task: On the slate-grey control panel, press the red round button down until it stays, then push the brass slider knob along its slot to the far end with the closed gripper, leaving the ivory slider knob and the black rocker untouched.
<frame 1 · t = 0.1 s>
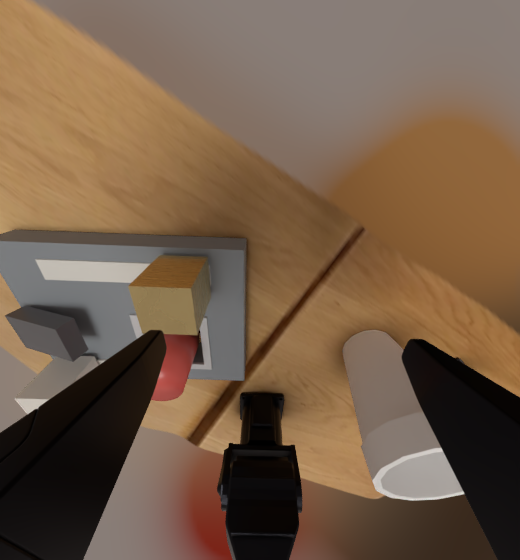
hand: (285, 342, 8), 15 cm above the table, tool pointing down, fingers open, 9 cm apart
black rocker: (48, 333, 21), point 5 cm above the table, hinge at -15.0°
brass slider: (177, 292, 17), point 6 cm above the table, slide at 0.0 cm
foam cup: (366, 347, 29), on the table
panel: (149, 306, 26), on the table
red button: (167, 358, 22), point 5 cm above the table, slide at 0.0 cm
ivory slider: (65, 387, 23), point 6 cm above the table, slide at 0.0 cm
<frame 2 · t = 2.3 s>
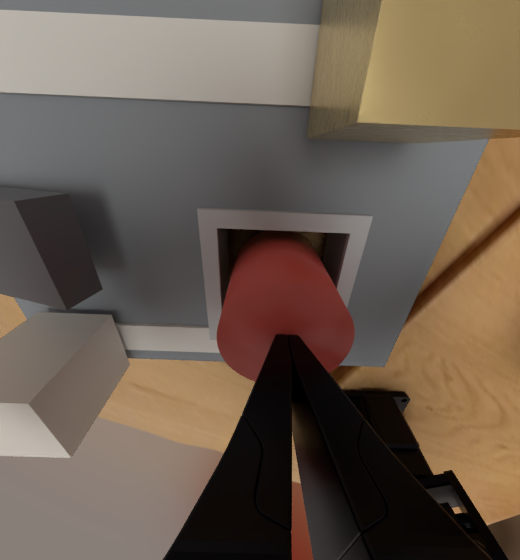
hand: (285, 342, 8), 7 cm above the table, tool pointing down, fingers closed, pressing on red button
black rocker: (8, 243, 9), point 5 cm above the table, hinge at -15.0°
brass slider: (427, 30, 5), point 6 cm above the table, slide at 0.0 cm
panel: (218, 219, 13), on the table
red button: (279, 298, 11), point 4 cm above the table, slide at 0.9 cm, touching gripper
ivory slider: (52, 377, 11), point 6 cm above the table, slide at 0.0 cm
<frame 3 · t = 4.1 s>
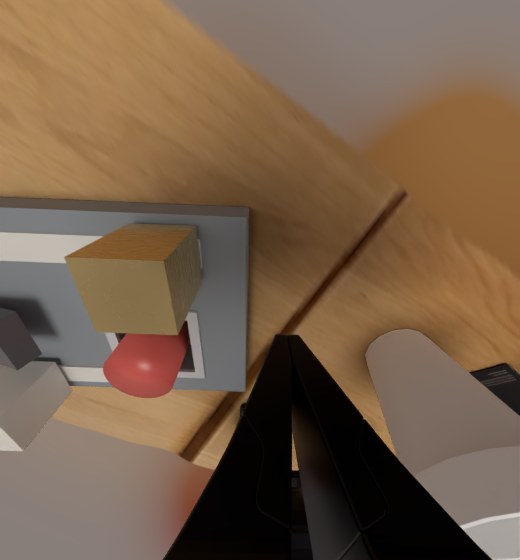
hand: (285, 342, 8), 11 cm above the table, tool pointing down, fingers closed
small box: (474, 394, 27), on the table
brass slider: (150, 273, 12), point 6 cm above the table, slide at 0.0 cm
foam cup: (395, 350, 23), on the table
panel: (126, 298, 20), on the table
red button: (155, 347, 19), point 3 cm above the table, slide at 1.8 cm
ivory slider: (15, 402, 18), point 6 cm above the table, slide at 0.0 cm
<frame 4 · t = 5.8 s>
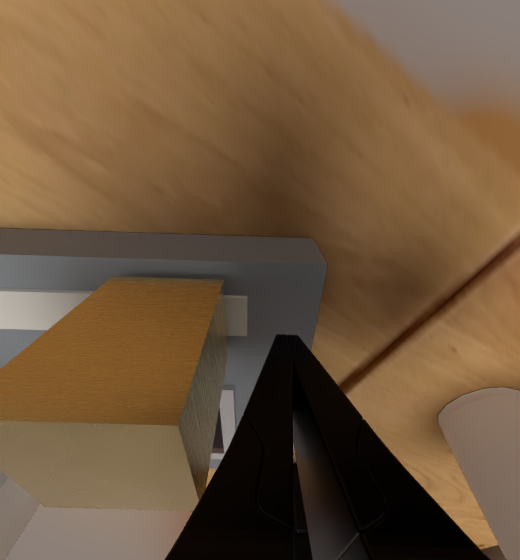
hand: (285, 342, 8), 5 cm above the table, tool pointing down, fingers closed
brass slider: (149, 373, 7), point 6 cm above the table, slide at 0.9 cm, touching gripper
foam cup: (477, 409, 18), on the table
panel: (131, 354, 15), on the table
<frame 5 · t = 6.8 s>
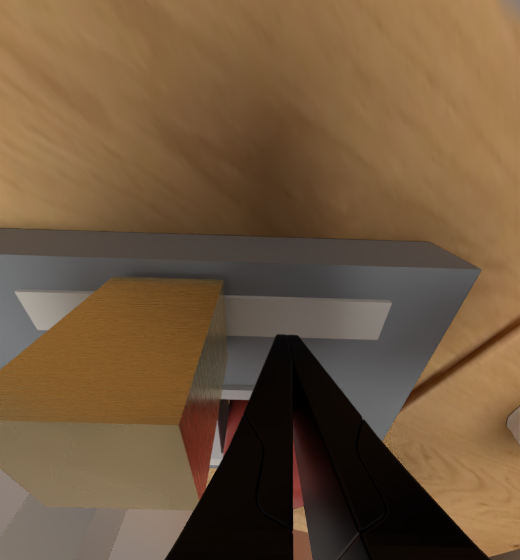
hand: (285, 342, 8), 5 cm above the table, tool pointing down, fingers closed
brass slider: (150, 373, 7), point 6 cm above the table, slide at 6.6 cm, touching gripper
panel: (217, 356, 15), on the table
red button: (268, 430, 13), point 3 cm above the table, slide at 1.8 cm
ivory slider: (77, 512, 13), point 6 cm above the table, slide at 0.0 cm
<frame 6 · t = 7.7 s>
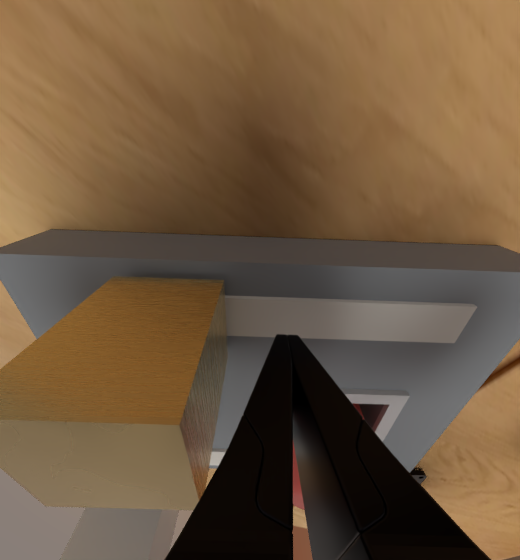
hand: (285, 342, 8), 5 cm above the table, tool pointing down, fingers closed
brass slider: (150, 373, 7), point 6 cm above the table, slide at 10.1 cm, touching gripper
panel: (267, 358, 15), on the table
red button: (324, 432, 14), point 3 cm above the table, slide at 1.8 cm
ivory slider: (135, 513, 13), point 6 cm above the table, slide at 0.0 cm
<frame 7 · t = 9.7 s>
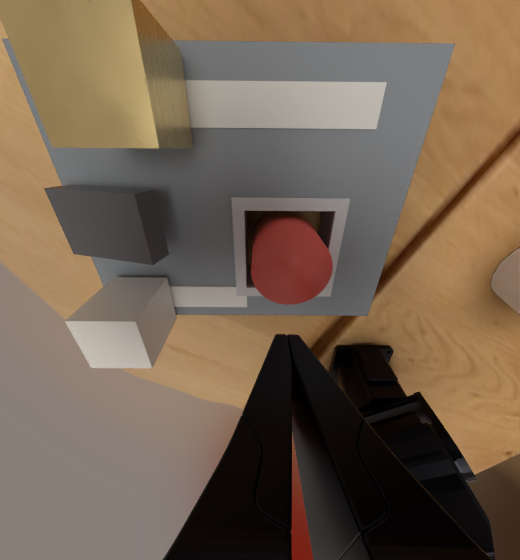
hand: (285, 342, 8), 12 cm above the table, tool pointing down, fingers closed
black rocker: (111, 223, 14), point 5 cm above the table, hinge at -15.0°
brass slider: (124, 93, 10), point 6 cm above the table, slide at 10.3 cm
panel: (240, 206, 18), on the table
red button: (286, 253, 16), point 3 cm above the table, slide at 1.8 cm
ivory slider: (131, 319, 16), point 6 cm above the table, slide at 0.0 cm
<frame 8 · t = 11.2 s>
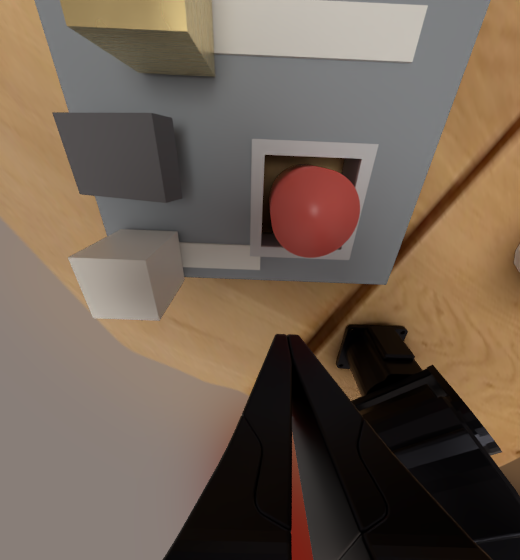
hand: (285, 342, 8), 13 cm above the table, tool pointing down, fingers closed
black rocker: (122, 158, 13), point 5 cm above the table, hinge at -15.0°
panel: (257, 161, 17), on the table
red button: (306, 207, 15), point 3 cm above the table, slide at 1.8 cm
ivory slider: (138, 271, 15), point 6 cm above the table, slide at 0.0 cm
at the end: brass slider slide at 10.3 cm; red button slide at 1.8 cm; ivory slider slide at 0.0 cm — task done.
